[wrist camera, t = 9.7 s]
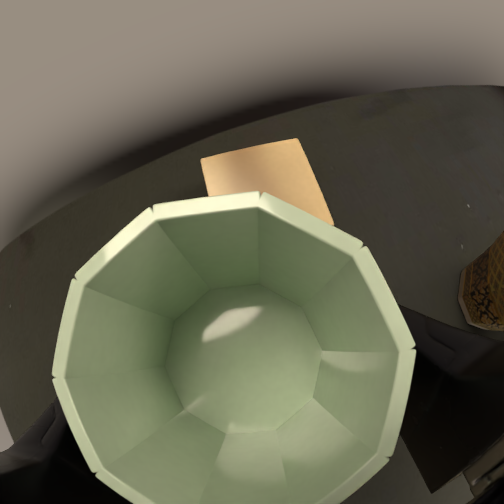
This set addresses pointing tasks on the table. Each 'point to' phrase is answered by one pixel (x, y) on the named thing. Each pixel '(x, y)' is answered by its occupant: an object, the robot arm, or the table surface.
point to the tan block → (268, 175)
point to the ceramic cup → (484, 288)
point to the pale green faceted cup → (233, 357)
